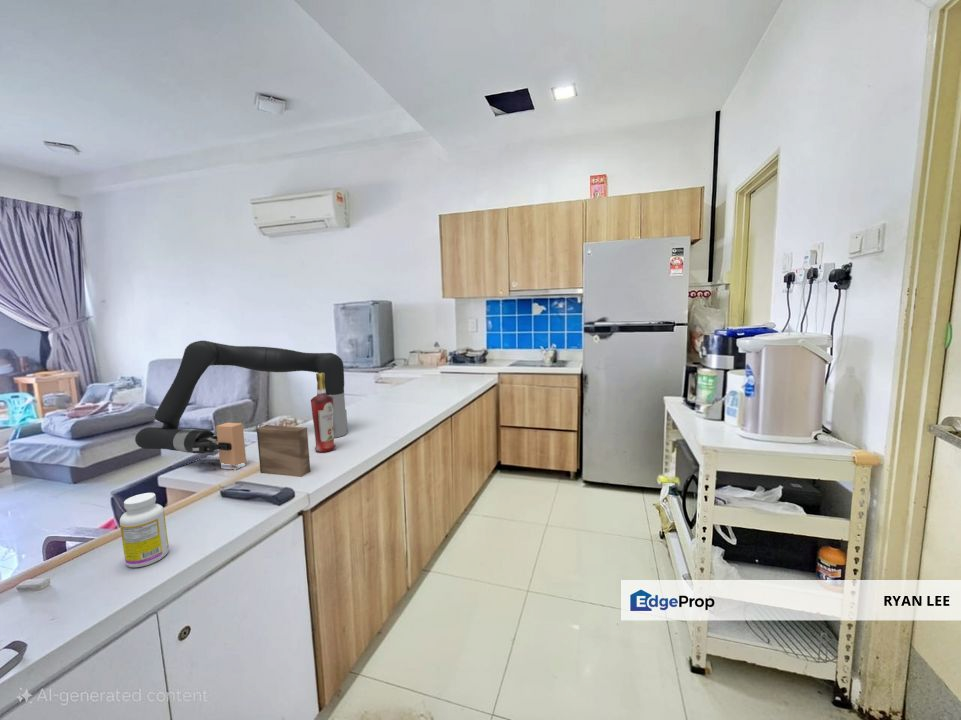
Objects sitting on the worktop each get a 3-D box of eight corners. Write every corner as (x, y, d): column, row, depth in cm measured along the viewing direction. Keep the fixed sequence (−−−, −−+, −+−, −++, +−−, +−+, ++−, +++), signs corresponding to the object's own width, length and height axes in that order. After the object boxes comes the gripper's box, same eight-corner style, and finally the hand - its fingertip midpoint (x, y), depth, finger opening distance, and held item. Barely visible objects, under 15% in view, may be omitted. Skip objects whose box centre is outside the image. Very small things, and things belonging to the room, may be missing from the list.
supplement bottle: (143, 549, 80) (135, 491, 79) (177, 547, 81) (170, 489, 79) (116, 570, 74) (107, 507, 72) (152, 568, 74) (144, 505, 73)
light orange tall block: (231, 464, 126) (227, 422, 124) (246, 465, 125) (242, 423, 123) (220, 468, 122) (216, 426, 121) (235, 470, 121) (231, 427, 119)
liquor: (327, 445, 143) (322, 371, 140) (340, 449, 139) (335, 372, 136) (309, 452, 137) (304, 374, 133) (323, 455, 133) (317, 375, 130)
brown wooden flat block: (271, 468, 122) (267, 424, 121) (310, 472, 119) (307, 427, 117) (260, 473, 118) (256, 428, 117) (301, 477, 115) (297, 431, 113)
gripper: (171, 436, 119) (215, 440, 115) (212, 423, 133) (254, 426, 128) (173, 460, 120) (218, 464, 116) (215, 444, 133) (256, 448, 129)
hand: (236, 444), depth 122 cm, fingers closed on light orange tall block, 4 cm apart
